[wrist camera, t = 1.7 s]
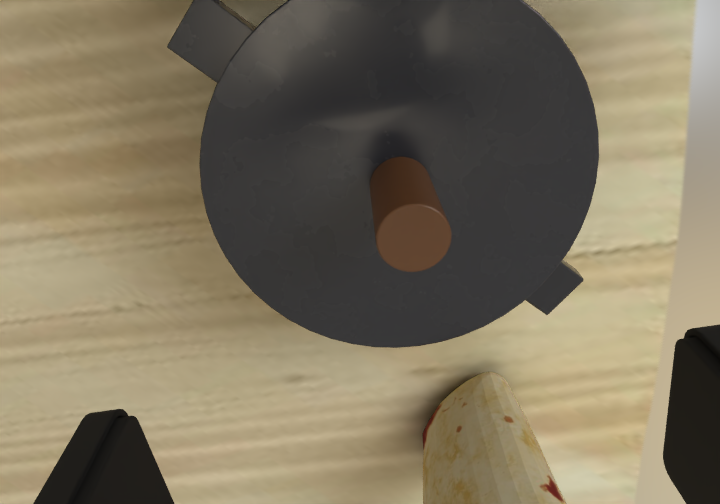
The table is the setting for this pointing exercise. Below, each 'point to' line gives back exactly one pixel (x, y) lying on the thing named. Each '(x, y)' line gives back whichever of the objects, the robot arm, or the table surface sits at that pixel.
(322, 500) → the table surface
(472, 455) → the food model
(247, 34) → the pan
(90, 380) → the table surface
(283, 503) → the table surface
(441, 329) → the pan lid
